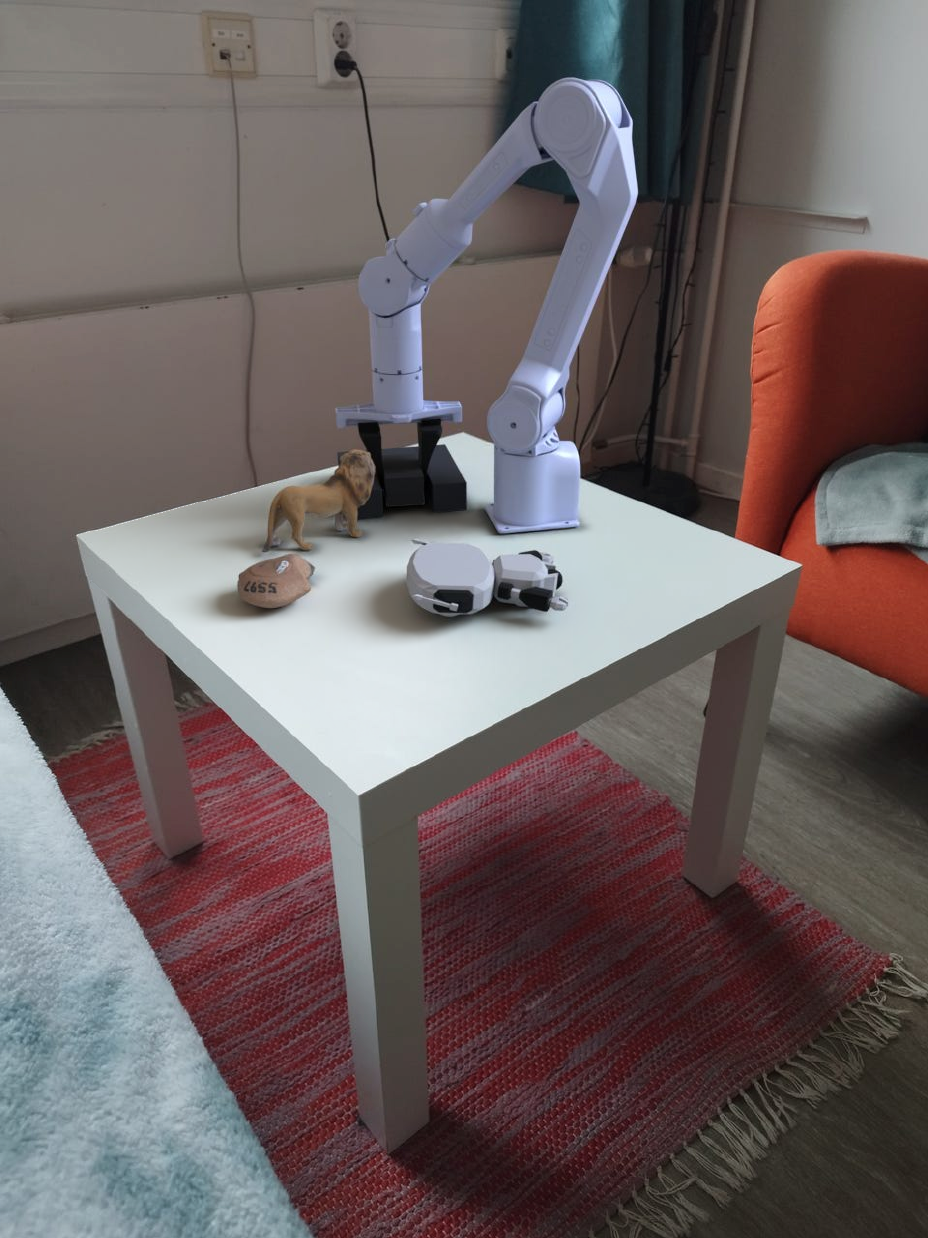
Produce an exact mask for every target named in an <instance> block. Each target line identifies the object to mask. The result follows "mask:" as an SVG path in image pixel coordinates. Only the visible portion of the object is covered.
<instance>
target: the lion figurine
mask: <svg viewBox="0 0 928 1238" xmlns="http://www.w3.org/2000/svg"><path fill="white" fill-rule="evenodd" d="M364 450H365V449H363V450H362V449H357V448H354V449H350V450H348V451H349V453H345V454H344V455H343V456H341V458H340V460H341V464H340V466H338V467H337V468H336V469H334V472H333V475H331V476H330V478H329V479H328V480H326V481H325V482H323V483H319V484H315V485H309V486H308V485H307V486H306V485H289V486H286V487H284V488H282V489H280V491H278V493H276V494H275V496H274V497H273V499H272V501H271V503H270V506H269V509H268V510H269V511H268V517H267V538H266V542H265V544H264V547H263V549H262V550H261V553H262V554H263V553H264V554H265V553H268V552H270V550H271V547H277V546H279V545H280V544H281V539H280V538H278V537H275V536H276V533H277V531H278V530H279V529H280V528H281V527H282V526H283V525H284V524H285V523H286V522H288V523H289V525H290V528H291V536H290V537H291V540H293V542H294V543H295V544H296V545H297V546H298V547H299V549H301V550H302V551H311V550H312V549H313V544H312V543H311V542H309V541H308V542H306V541H304V539H303V538H302V530H303V527H304V524H305V521H306V520H305V519H306V517H305V516H306V515H308V516H310V517H314V518H326V517H330V516H333V518H334V529H335V530H336V531H338V532H342V531H345V530H347V532H348V533H349V535H350V536H351V538H352V537H353V538H361V536H362V531H361V530H360V529H357V524H358V519H357V508H359V507H360V506H361V505H364V504H365V503H366V501H367V500H368V499H369V497H370V494H371V490H372V486H373V483H374V475H375V472H376V471H375V465H374V463H373V460H372V459H371V454H370V453H369V452H366V451H364ZM343 515H344V516H345V518H346V522H347V524H346V523H344V520H343V519H344V518H343Z"/></svg>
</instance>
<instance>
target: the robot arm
mask: <svg viewBox="0 0 928 1238" xmlns="http://www.w3.org/2000/svg"><path fill="white" fill-rule="evenodd" d="M633 121H634V120H633V119H632V116H631V115H630V112H629V111H628V109H627V107H626V105H625V103H624V100H623V98H622V97H621V95H620V94H619V91H618V90H617V89H616V87H614V86H613V85H612V84H610V83H608V82H607V81H605V80H602V79H594V78H593V79H586V80H584V79H581V78H577V77H564V78H561V79H558V80H556V81H554V82H553V83H551V84H550V85H549V86H547V88H546V89H545V90H544V91H543V92H542V93H541V96H540V97H539V98H538V101H533V102H532V103H530V104H529V105H528V106H527V107H525V109H523V110H522V111H521V112H520V114H519V115H518V116H517V117H516V118H515V119H514V121H513V122H512V123H511V124H510V125H509V127H508V128H507V129H506V130H505V131H504V133H503V134H502V135H501V136H500V138H499V139H498V140H497V141H496V143H494V145H493V146H492V147H491V148H490V150H488V152H487V153H486V154H485V156H484V157H483V158H482V159H481V160H480V162H479V163H478V164H477V165H476V167H475V168H474V169H473V170H472V171H471V172H470V174H469V175H468V176H467V177H466V178H465V180H464V181H463V182H462V183H461V184H460V186H459V187H458V188H457V189H456V191H455V192H453V194H452V196H451V197H450V198H432V199H431V200H430V201H429V202H428V203H427V202H420V203H418V204H417V205H416V206H415V208H414V209H413V210H412V214H413V216H414V219H412V221H411V222H410V223H409V224H408V225H407V226H406V227H405V228H404V230H402V232H401V233H400V234H399V235H398V236H397V238H391V239H388V241H387V242H386V243H384V248H385V249H386V252H385V255H384V256H376V257H373V258H370V259H368V260H366V262H365V263H364V267H363V268H362V270H361V271H360V273H359V276H358V280H357V289H358V295H359V297H360V300H361V301H362V303H363V305H364V306H365V307H366V308H367V310H368V320H369V321H368V322H369V323H368V324H369V325H368V326H369V344H370V361H371V362H370V363H371V364H370V365H371V379H372V380H371V381H372V397H373V402H368V403H362V404H355V405H349V406H348V405H347V406H342V407H341V406H340V407H338V406H337V407H334V412H335V424H336V430H337V429H338V430H339V429H341V430H343V429H346V428H347V427H357V429H358V431H357V432H358V436H359V438H360V440H361V442H362V444H363V446H364V447H365V450H367V451H368V452H369V453H370V454H371V459H372V460H373V463H374V465H375V471H376V474H377V478H378V480H379V483H380V486H384V473H383V466H382V449H383V447H382V434H381V427H380V425H399V424H401V425H402V424H416V429H417V446H418V449H419V452H418V462H419V465H420V468H421V469H422V472H423V475H424V484H425V483H426V476H427V471H428V467H429V463H430V460H431V457H432V454H433V452H434V449H435V447H436V445H438V443H439V441H440V439H441V437H442V434H443V427H442V422H452V423H453V424H456V423H462V422H463V406H462V403H461V402H460V401H441V400H424V378H423V377H424V376H423V375H424V374H423V373H424V372H423V343H422V342H423V341H422V340H423V338H422V313H421V312H422V311H421V306H422V304H423V302H424V301H425V299H426V297H427V296H428V294H429V292H430V291H429V290H430V286H431V285H432V284H433V283H435V281H437V279H438V278H439V277H440V276H441V275H442V274H443V273H444V272H445V271H446V270H447V269H448V268H449V267H450V266H451V265H452V264H453V263H454V262H455V261H456V260H457V259H458V258H459V256H461V254H462V253H464V252H465V250H466V249H467V248H468V247H469V246H470V245H471V244H472V240H473V226H474V222H475V221H477V219H479V218H480V217H481V216H482V214H484V213H485V211H487V210H488V209H489V208H490V207H491V206H492V205H493V204H494V203H495V202H496V201H497V200H498V199H499V198H500V197H501V196H502V195H503V194H504V193H505V192H506V191H507V190H508V189H510V187H511V186H512V185H514V183H516V182H517V180H519V178H521V177H522V176H523V175H524V174H525V173H526V172H527V171H528V170H529V169H531V167H534V166H537V165H540V164H544V163H548V162H551V161H555V162H556V163H557V164H558V165H559V166H560V167H561V168H562V169H563V170H564V171H565V172H566V175H567V177H568V179H569V182H570V184H571V186H572V189H573V190H574V192H575V194H576V196H577V199H578V201H579V206H578V208H577V212H576V214H575V216H574V218H573V219H574V220H573V222H572V225H571V228H570V230H569V233H568V236H567V238H566V241H565V244H564V245H563V250H562V251H561V255H560V257H559V260H558V262H557V266H556V268H555V270H554V273H553V276H552V278H551V282H550V283H549V286H548V290H547V292H546V295H545V297H544V299H543V303H542V305H541V308H540V311H539V314H538V317H537V318H536V321H535V325H534V326H533V330H532V333H531V335H530V338H529V341H528V343H527V346H526V349H525V351H524V354H523V356H522V358H521V360H520V362H519V364H518V365H517V367H516V369H514V372H512V373H513V374H512V375H511V377H510V379H509V381H508V383H507V386H506V388H505V390H504V392H503V394H501V396H499V397H498V399H496V400H495V401H494V402H493V403H492V404H491V405H490V408H488V409H489V410H488V411H487V416H486V429H487V432H488V434H489V436H490V438H491V440H492V441H493V502H491V503H490V502H489V503H485V504H484V505H483V508H484V510H485V512H486V514H487V515H488V517H489V519H490V521H491V523H492V524H493V526H494V528H495V529H496V531H497V533H499V534H512V533H524V532H531V531H532V532H534V531H545V530H555V529H556V530H557V529H567V528H576V527H579V526H580V521H579V503H580V501H579V500H580V487H581V463H580V455H579V451H578V448H577V446H576V444H575V443H574V442H573V441H570V440H560V438H559V435H558V433H557V432H558V431H557V430H556V425H557V424H558V423H559V422H560V421H561V419H562V418H563V417H564V413H565V409H566V396H565V394H566V387H567V384H568V381H569V379H570V366H571V363H572V361H573V358H574V356H575V353H576V351H577V349H578V346H579V344H580V341H581V338H582V336H583V334H584V332H585V328H586V326H587V325H588V322H589V319H590V316H591V314H592V312H593V309H594V307H595V304H596V302H597V300H598V297H599V295H600V292H601V290H602V287H603V285H604V282H605V279H606V278H607V274H608V272H609V269H610V267H611V265H612V262H613V260H614V258H615V255H616V253H617V250H618V247H619V245H620V242H621V240H622V238H623V235H624V232H625V231H626V228H627V225H628V223H629V221H630V218H631V215H632V213H633V210H634V208H635V206H636V203H637V198H638V195H639V189H638V187H639V186H638V180H637V172H636V171H637V170H636V164H635V163H636V161H635V154H634V146H633V126H634V125H633Z"/></svg>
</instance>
